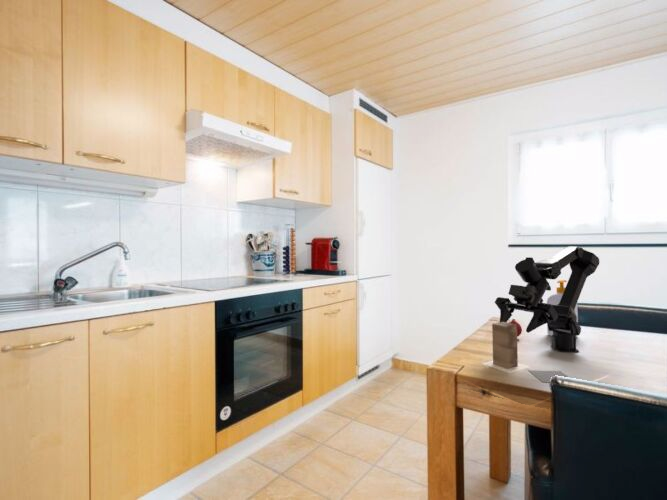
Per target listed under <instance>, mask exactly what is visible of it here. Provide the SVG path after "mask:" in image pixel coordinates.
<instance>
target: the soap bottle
mask: <svg viewBox="0 0 667 500" xmlns="http://www.w3.org/2000/svg"><path fill="white" fill-rule="evenodd" d="M556 283H558V284H559V287H556V293H555V294H551V295H550V296H549V297H548V298H547V300H546V303H547V304H551V305H558V304H559V302H560V300H561V297H562V295H563V292H564V290H565V288H566V286H565V287H564V283H568V280H565V279H560V280H557V282H556ZM578 306H579V304H578V302H577V304H576V306H575V309H574V311H575V314H576V317H577V320H576V321H577V322H578V323H579V321H578V320H579V316H578V315H579V311H578ZM546 327H547V328H546V329H547V333H546V334H547V335H548V336H551V337H552V335H553V331H549V329H548V325H547V326H546ZM578 336H579V335H576V338H577V337H578Z"/></svg>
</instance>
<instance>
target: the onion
mask: <svg viewBox="0 0 667 500" xmlns="http://www.w3.org/2000/svg"><path fill="white" fill-rule="evenodd" d="M508 323H511V324H516V325H517V338H518V337H519V336H521V335H522V333H523V328H522V326H521V324H520V323H519V322H518V321H516V319H515V318H512V319H511V321H509V322H508Z"/></svg>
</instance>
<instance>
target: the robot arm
mask: <svg viewBox="0 0 667 500" xmlns="http://www.w3.org/2000/svg"><path fill="white" fill-rule="evenodd" d="M568 265H569V268H570V269H571V270H570V271H571V273H570V276H569V278H568V280H567V282H566V285H565V290H564V292H563V295H562V297H561V300H560V302H559V304H558V305H551V304H547V302H544V300H543V296H544V295H545V293H546V291H551V290H552V287H551V285H550V282H549V281H548V280H557V278H559V276H560V275H561V274H562V272H561V271H562V269H563V268H565V267H567V266H568ZM599 265H600V258H599V256H597V255H596V254H595V253H593V252H592V251H588V250H586V249H584V248H582V247H581V246H566V247H564V248H563V250H562V251H560V252H559V253H557V254H555V255H554V256H552V257H550V258H549V259H544V260H543V259H542V260H539V261H536V262H535V259H534V258H533V257H525V259H522V260H520V261H518V262H517V263H516V264H515V266H514V269H515V271H516V272H517V274H518V276H519V277H520V278H521V280H522V281H523V282H524V283H526V285H518V284H510V285H509V286H510V287H509V291H508V295H511V296H512V297H513V300H514V301H515V302H512V300H511V299H509V298H508V297H502V296H501V297H500V296H499V297H496V299H495V301H494V304H495V305H496V306H497V308H498V309H499V310H500V311H499V313H500V315H499V322H506V323H508V321H509V320H510V319H511V317H512V316H513V313H514V312H515V310H516V311H517V310H518V311H523V312H528V313H532V318H531V319H530V321H529V323H528V325H527V326H526V329H525V331H526V333H530V332H532V331H534V330H536V329H538V328H539V327H541V326H543V325H546V324H547V325H548V329H549V331H553V335H552V336H551V344H550V347H551V348H553V349H555V350H557V351H558V352H573V353H574V352H576V353H577V352H580V351H579V349H578V348H577V337H576V335H578V336H580V335H581V332H582V326H580V324H579V321H578V322H577V321H576V320H577V317H576V314H575V311H574V309H575V306H576V304H577V303H578V301H579V299H580V296H581V293H582V291H583V288H584V285H585V284H586V281H587V278H588V277H589V276H591V275H592V274H594V273H595V272H596V271H597V268H598V267H599Z"/></svg>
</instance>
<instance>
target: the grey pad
mask: <svg viewBox="0 0 667 500" xmlns="http://www.w3.org/2000/svg"><path fill="white" fill-rule="evenodd" d="M528 372H529V373H530V374H531V375H533V376H534V377H535V378H536V379H538V381H540V383H544V384H551V383H550V379H551V377H553V376H555V375H558V376H564V377H569V375H567V374H565V373H564V372H562V371H561V370H532V369H531V370H528Z"/></svg>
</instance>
